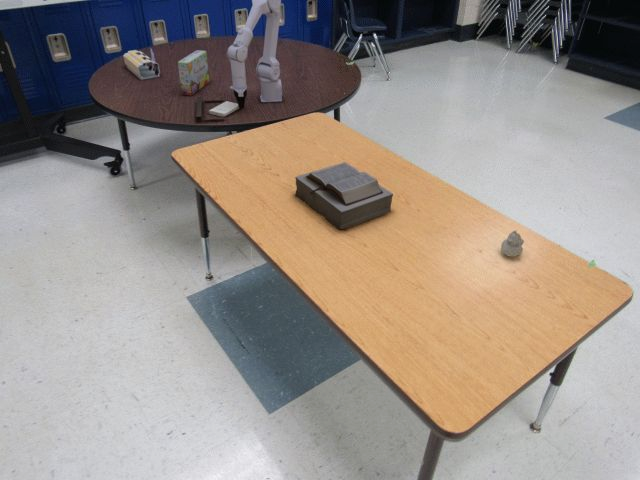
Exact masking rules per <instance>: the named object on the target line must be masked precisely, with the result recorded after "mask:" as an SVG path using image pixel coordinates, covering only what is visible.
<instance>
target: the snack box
mask: <svg viewBox="0 0 640 480" xmlns="http://www.w3.org/2000/svg"><path fill="white" fill-rule="evenodd" d="M207 53H208V52H207V50H201V49H200V50H199V49H198V50H197V49H196V50H194V51H193V52H192V53H190V54H188V55H187V56H185V57H184V58H181V59H180V60H178V61H177V67H178V76H179V83H180V89H181V95H184V96H190V97H191V96H193V95H194V94H196V93H197V92H198V91H200V90H201V89H203V87H205V86H206V85H208V84H210V73H209V64H208V62H209V61H208V54H207Z"/></svg>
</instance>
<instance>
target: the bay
mask: <svg viewBox="0 0 640 480" xmlns="http://www.w3.org/2000/svg"><path fill="white" fill-rule="evenodd" d="M204 103H205V104H210V103H212V104H213V103H224V99H223V98H220V99H204ZM195 119H196V123H202V122H204V123H209V122H210V123H211V122H212V123H213V122H224V121H225V117H213V118H204V119H203V97H202V96H197V97H196V111H195Z"/></svg>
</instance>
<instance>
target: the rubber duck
mask: <svg viewBox="0 0 640 480" xmlns="http://www.w3.org/2000/svg"><path fill="white" fill-rule="evenodd" d="M524 242H525V240H524V239H523V238H522V236H521V234H520V233H518V232H517V230H513V231H512V232H510V233H509V234H508V235H507V237H506V239H504V240H503V241H502V242H501V247H500V249H501V253H503V254H504V255H505V256H506V257H511V258H512V257H518V256H520V255H522V253H523V252H524V251H523V250H524V248H523V247H522V246H523V245H524Z"/></svg>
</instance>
